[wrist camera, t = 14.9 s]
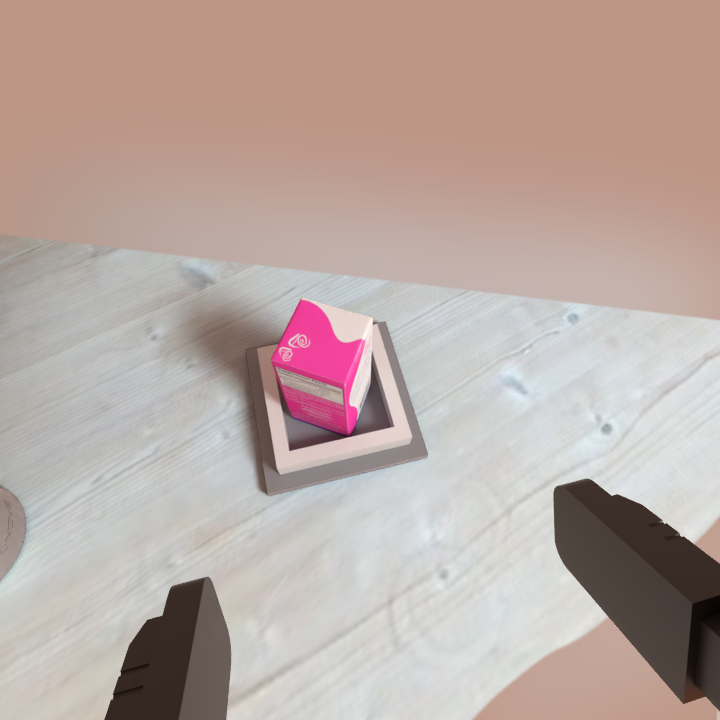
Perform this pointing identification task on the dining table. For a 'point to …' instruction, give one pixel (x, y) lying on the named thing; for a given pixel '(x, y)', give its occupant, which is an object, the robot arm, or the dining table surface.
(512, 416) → the dining table surface
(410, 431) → the socket
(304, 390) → the supplement box
